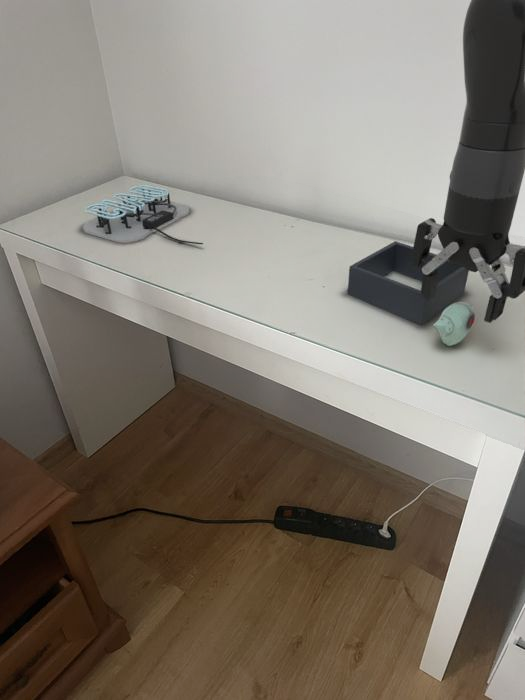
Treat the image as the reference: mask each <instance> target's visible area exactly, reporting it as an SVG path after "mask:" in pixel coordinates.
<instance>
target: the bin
mask: <svg viewBox="0 0 525 700" xmlns="http://www.w3.org/2000/svg"><path fill="white" fill-rule="evenodd" d="M413 247H414V246H411V245H409V244H405V243H402V242H400V241H396V240H395V241H393V242H391V243H389V244H387V245H385V246H384V247H382V248H380V249H379V250H377V251H374V252H373V253H371V254H369V255H368V256H366V257H364V258H362V259H360V260H358V261H357V262H355V263H353V264H351V265H350V266H349V269H348V282H347V283H348V284H347V295H348V296H351V297H354V298H355V299H358V300H360V301H363V302H366V303H368V304H370V305H373V306H374V307H377V308H379V309H382V310H384V311H386V312H389V313H392V314H394V315H396V316H399V317H401V318H403V319H406V320H408V321H410V322H412V323H415V324H418V325H419V326H422V325H424V324H425V323H427V321H429V320H431V319H432V318H434V317H435V316H436V315H438V314H439V313H441V312H442V311H444V310H445V309H446V308H447V307H448V306H449V305H451V304H453V303H454V302H455V301H457V300H458V299H459V298H460V297H462V296H463V295H464V294H465V290H466V285H467V282H468V277H469V272H470V271H469V270H468V269H466V268H464V267H456V266H453V265H452V263H451V262H450V261H449V260H448V261H446V262H445V263H444V264H443V265H441V266H440V267H439V268H438V271H440V274H439V280H438V285H437V291H436V295H435V297H433V298H432V299H431V300H429V301H427V300H425V299H423V294H421V289H417V288H415V287H412V286H410V285H408V284H404V283H402V282H399V281H396V280H394V279H391V278H389V277H386V275H388V274H389V273H392V272H393V271H394V272H397V273H399V274H402V275H404V276H407V277H410V278H412V279H416V280H417V281H420V282H422V280H423V272H422V269H420V268H419V267H418V266H413V265H412V264H411V256H412V251H413ZM436 255H437V254H436V253H433V252H429V256H428V257H429V258H431V259H433V258H434V257H435V256H436Z"/></svg>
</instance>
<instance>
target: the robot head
mask: <svg viewBox="0 0 525 700" xmlns="http://www.w3.org/2000/svg"><path fill="white" fill-rule="evenodd" d="M475 319H476V314H475V311H474V309H473V304H472V303H468V302H465V301H459V302H453V303H451V304H449V305H448V306H447V307H445V308H444V309H443V310H442V311H441V315H440V316H439V318H438V319H437V320H436V322H435V323H433V327H434V328H435V329H436V330H437V332H438V333H439V335H440V336H439V337H440V340H441V341H442V343H443V344H444V345H446V346H447V347H452V346H455V345H457V344H459V343H460V342H461V341H462V340H464V339H465V338H466V336H468V334H469V333H470V331H471V330H472V328H473V326H474V324H475Z"/></svg>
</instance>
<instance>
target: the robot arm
mask: <svg viewBox="0 0 525 700" xmlns="http://www.w3.org/2000/svg"><path fill="white" fill-rule="evenodd" d="M465 13H466V14H465V17H464V23H463V28H462V29H463V30H462V54H463V59H462V60H463V76H464V88H465V98H466V101H465V102H466V103H465V108H464V111H463V118H462V123H461V128H460V135H459V141H458V143H457V144H458V145H457V149H456V152H455V155H454V157H453V162H452V167H451V171H450V173H449V174H450V175H449V184H448V190H447V194H446V202H445V207H444V213H443V223H442V224H440V223H437V222H436V220H435V218H433V217H430V218H428V219H426V220H424V221H421V222H420V223H419V224H418V225H417V227H416V232H415V237H414V242H413V246H412V247H413V251H412V256H411V264H412V265H413V266H418V267H419V268H420V269H422V272H423V280H422V281H421V287H420V291H421V294H423V299H425V300H427V301H429V300H431V299H432V298H433V297H435V295H436V291H437V285H438V280H439V274H440V271H438V268H439V267H440V266H441V265H443V264H444V263H445V262H446V261H448V260H449V261H450V262H451V263H452V265H453V266H456V267H464V268H466V269H468V270H469V272H473V273H477V272H478V273H479V275H480V277H481V279H482V281H483V283H486V284H487V286H488V289H489V291H490V293H491V295H490V296H489V298H488V301H487V305H486V310H485V315H484V318H483V322H486V323H489V324H491V323H492V322H494V321H497V320H498V318H500V317H501V316H502V314H503V312H504V310H505V307H506V306H505V305H506V302H507V298H510V299H517V298H519V297H520V296H521V295H522V294H523V293H524V292H525V245H519V244H515V243H511V241H510V237H509V233H510V231H511V227H512V224H513V223H512V222H513V219H514V214H515V211H516V208H517V203H518V200H519V195H520V191H521V187H522V182H523V179H524V175H525V0H470V2H469V5H468V7H467V10H466V12H465ZM436 237H438V240H439V242H440V245H441V246H442V250H441V251H439V253H437V254H436V256H435V257H434V258H433V259H431V258H429V257H428V256H429V252H430V251H431V247H432V243H433V239H435V238H436ZM430 253H431V252H430ZM504 255H507V256H508V258H509V263H510V264H511V265H512V270H511V276H510V280H509V278H508V276H507V275H506V267H505V265H504V262H503V261H502V256H503V257H504Z"/></svg>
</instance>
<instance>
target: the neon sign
mask: <svg viewBox="0 0 525 700" xmlns="http://www.w3.org/2000/svg"><path fill="white" fill-rule="evenodd" d="M134 190H135V191H134ZM128 191H129V193H131V194H129V193H121V192H120V193H115V194H114V195H113V197H112V198H114V199H116V200H119V201H121V202H119V201H115V200H110V199H103V200H101V203H93V204H91V205H88V206H87V207H85V208H84V211H85V213H87V214H90V215H93V216H97V217H96V218H94V219H91V220H88V221H87V222H85V223H84V224H83V225H82V230H83V232H84V233H86V234H88V235H92V236H95V237H98V238H102V239H105V240H109V241H112V242H116V243H120V244H121V243H122V244H126V243H128V244H129V243H134V242H138V241H141V240H143V239H145V238H146V237H148V236H149V235H150V234H153V233H156V232H159V233H160V234H162V235H163V236H165V237H166V238H168V239H171V240H173V241H176V242H180V243H185V244H194V245H204V243H203V242H199V241H198V242H197V241H196V242H195V241H188V240H182V239H178V238H176V237H173V236H171V235H169V234H167V233H166V232H164V231H162V229H163V228H165V227H167V226H169V225H171V224H173V223H174V222H177V221H178V220H180V219H181V218H184V217H186V216H188V215H189V214H190V208H189V207H188V206H187V205H185V204H181V203H177V202H173V201H171V198H170V195H171V194H170V191H169V190H168V189H166V188H162V187H156V186H152V185H145V184H143V185H141V184H139V185H136V186H133V187H131V188H129V189H128ZM119 196H121V197H119ZM158 198H159V199H158ZM163 198H164V199H163ZM109 207H114V209H113V210H112V212H108V211H107V209H109ZM89 209H91V210H89Z"/></svg>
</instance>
